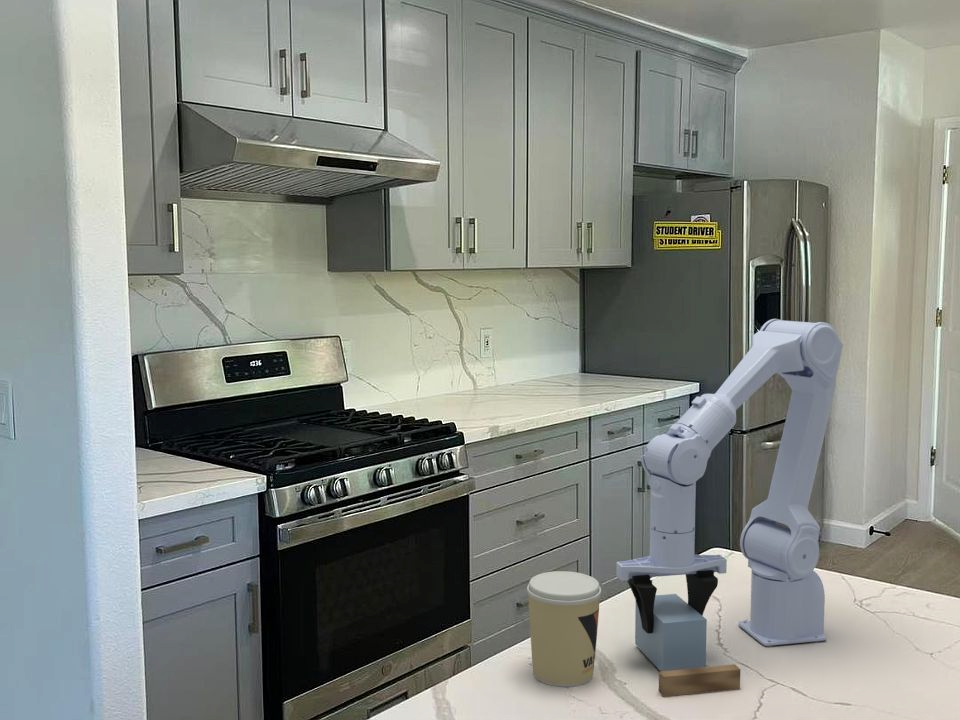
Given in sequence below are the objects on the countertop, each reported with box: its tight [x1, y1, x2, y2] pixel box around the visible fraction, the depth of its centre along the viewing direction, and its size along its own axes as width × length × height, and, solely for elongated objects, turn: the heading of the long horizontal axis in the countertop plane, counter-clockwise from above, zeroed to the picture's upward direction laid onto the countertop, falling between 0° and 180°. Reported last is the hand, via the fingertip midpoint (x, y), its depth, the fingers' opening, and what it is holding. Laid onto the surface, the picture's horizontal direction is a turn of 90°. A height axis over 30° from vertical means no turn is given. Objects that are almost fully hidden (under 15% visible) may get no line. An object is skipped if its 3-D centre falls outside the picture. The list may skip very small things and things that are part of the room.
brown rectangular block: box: [658, 663, 741, 698], centre depth 116 cm, size 10×2×2 cm, turn 102°
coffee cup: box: [526, 570, 602, 688], centre depth 120 cm, size 9×9×12 cm
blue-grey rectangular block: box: [634, 593, 708, 672], centre depth 125 cm, size 6×10×7 cm, turn 12°
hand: (670, 628), depth 125 cm, fingers closed on blue-grey rectangular block, 6 cm apart
